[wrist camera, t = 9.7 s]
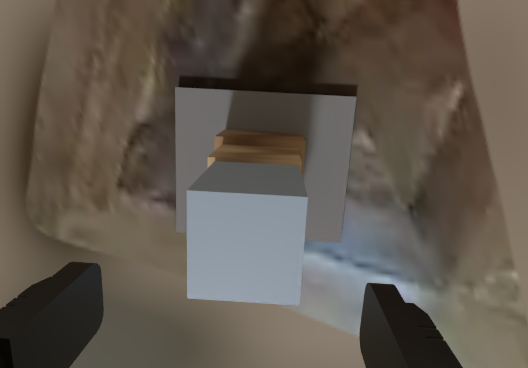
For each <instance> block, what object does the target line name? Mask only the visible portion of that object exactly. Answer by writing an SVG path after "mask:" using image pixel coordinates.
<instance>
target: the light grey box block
mask: <svg viewBox="0 0 528 368" xmlns="http://www.w3.org/2000/svg"><path fill="white" fill-rule="evenodd" d="M307 203H308V195H307V192H306V188H305V184H304V181H303V177H302V173H301V170H300V166H298V165H279V164H260V163H241V162H223V161H214V162H213V163H212V164H211V165H210V166H209V167H208V169H207V170H206V171H205V172H204V173H203V174H202V175H201V176H200V177H199V178H198V179H197V180H196V181H195V182H194V183H193V184H192V185H191V186H190V187H189V189H188V190H187V298H191V299H192V298H193V299H206V300H223V301H237V302H253V303H269V304H284V305H299V304H300V291H301V279H302V266H303V253H304V241H305V228H306V215H307Z"/></svg>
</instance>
